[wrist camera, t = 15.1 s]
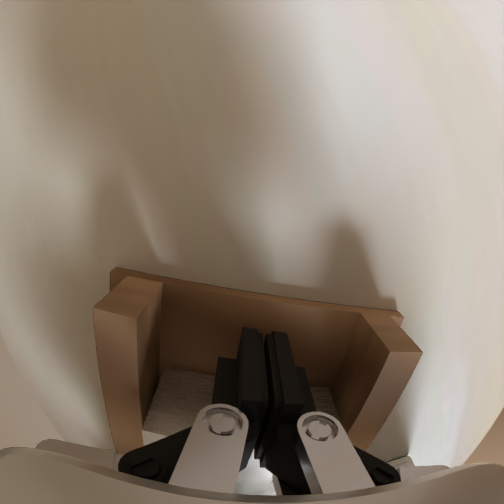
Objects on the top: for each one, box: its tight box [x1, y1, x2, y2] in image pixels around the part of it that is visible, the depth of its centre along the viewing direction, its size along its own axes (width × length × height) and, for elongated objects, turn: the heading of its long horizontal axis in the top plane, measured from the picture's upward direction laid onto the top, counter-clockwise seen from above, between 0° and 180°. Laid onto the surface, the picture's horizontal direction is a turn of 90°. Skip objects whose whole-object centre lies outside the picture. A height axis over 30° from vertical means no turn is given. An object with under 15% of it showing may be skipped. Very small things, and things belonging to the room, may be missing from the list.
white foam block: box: [142, 367, 341, 496], centre depth 10 cm, size 5×7×4 cm
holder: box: [93, 268, 423, 454], centre depth 11 cm, size 19×13×5 cm, turn 170°
